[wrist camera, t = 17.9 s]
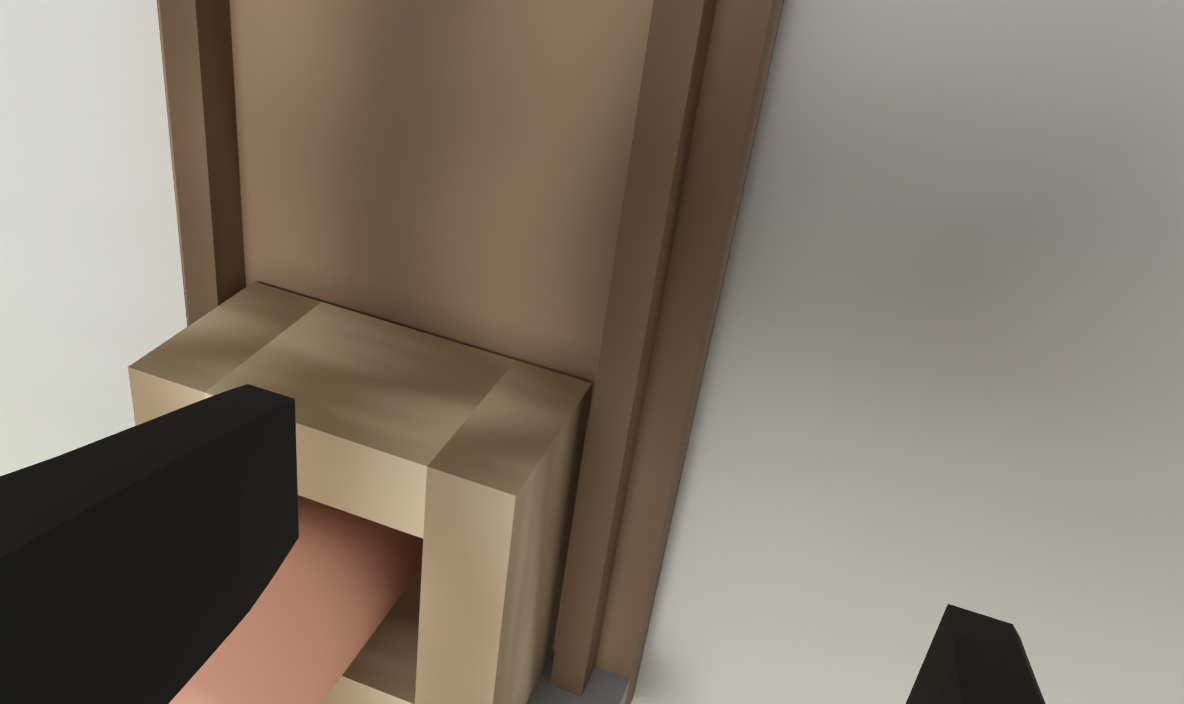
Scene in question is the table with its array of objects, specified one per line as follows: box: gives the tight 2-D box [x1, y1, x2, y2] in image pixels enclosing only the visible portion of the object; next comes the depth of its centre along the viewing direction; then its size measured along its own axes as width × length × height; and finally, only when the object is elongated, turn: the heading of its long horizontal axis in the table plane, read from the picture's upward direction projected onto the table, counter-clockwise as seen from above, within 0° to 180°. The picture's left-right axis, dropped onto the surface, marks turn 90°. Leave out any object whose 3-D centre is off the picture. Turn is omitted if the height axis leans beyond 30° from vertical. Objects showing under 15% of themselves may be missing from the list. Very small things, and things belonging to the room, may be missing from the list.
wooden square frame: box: [128, 282, 592, 704], centre depth 22 cm, size 8×8×4 cm
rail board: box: [157, 0, 784, 704], centre depth 18 cm, size 12×30×7 cm, turn 173°
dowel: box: [169, 495, 423, 704], centre depth 21 cm, size 3×3×8 cm
